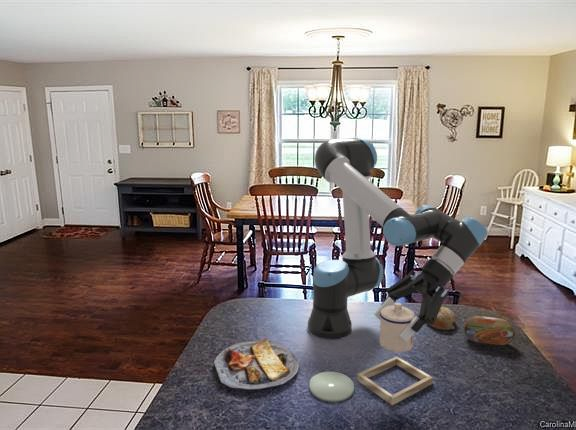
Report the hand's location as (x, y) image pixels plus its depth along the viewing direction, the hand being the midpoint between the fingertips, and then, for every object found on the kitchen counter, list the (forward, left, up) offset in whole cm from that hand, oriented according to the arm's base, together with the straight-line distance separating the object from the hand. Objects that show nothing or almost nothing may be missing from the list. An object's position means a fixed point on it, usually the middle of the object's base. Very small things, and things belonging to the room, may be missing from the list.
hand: (389, 327), depth 116 cm
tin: (+3, +45, -17) cm, 48 cm away
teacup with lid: (+1, +2, -5) cm, 5 cm away
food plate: (-27, -25, -17) cm, 41 cm away
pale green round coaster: (-7, -13, -17) cm, 23 cm away
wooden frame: (+1, +3, -17) cm, 17 cm away
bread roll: (-14, +42, -17) cm, 48 cm away
